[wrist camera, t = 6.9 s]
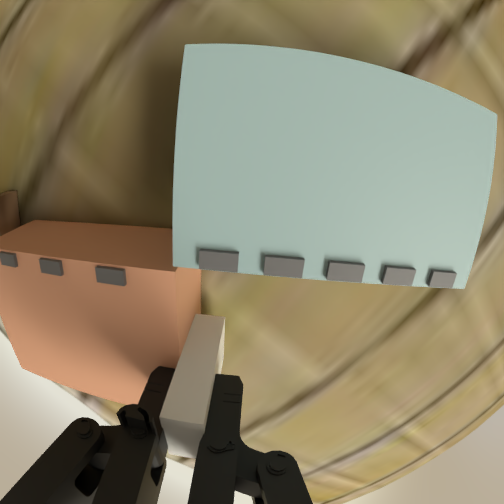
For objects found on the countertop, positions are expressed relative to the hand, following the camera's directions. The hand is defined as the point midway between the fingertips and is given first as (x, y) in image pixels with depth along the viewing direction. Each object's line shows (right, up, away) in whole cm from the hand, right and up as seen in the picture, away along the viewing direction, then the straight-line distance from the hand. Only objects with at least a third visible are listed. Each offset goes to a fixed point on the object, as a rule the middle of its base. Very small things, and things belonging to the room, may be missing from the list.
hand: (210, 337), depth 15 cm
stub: (-6, +2, +1) cm, 7 cm away
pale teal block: (+6, +8, -2) cm, 10 cm away
